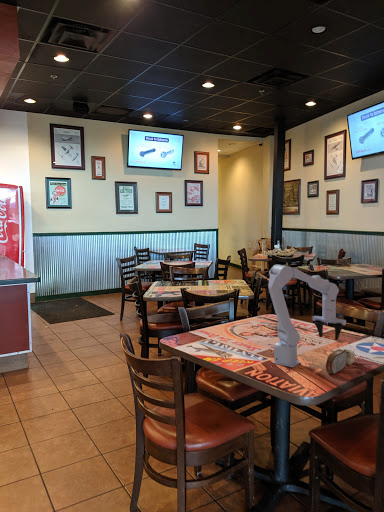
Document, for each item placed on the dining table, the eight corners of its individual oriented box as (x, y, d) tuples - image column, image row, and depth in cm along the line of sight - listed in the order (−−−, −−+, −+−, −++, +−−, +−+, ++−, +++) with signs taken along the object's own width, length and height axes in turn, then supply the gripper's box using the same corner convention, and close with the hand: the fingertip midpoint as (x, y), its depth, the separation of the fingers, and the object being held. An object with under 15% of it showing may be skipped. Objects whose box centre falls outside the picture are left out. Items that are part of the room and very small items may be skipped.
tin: (341, 365, 169) (341, 346, 168) (348, 367, 166) (348, 348, 166) (324, 375, 158) (325, 355, 158) (332, 377, 156) (332, 356, 155)
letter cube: (338, 362, 172) (338, 351, 172) (342, 359, 176) (342, 348, 176) (350, 365, 169) (350, 353, 169) (354, 361, 173) (354, 350, 172)
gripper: (348, 309, 174) (348, 338, 175) (317, 305, 184) (316, 333, 185) (342, 312, 169) (342, 342, 170) (310, 308, 178) (310, 337, 179)
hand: (328, 338), depth 177 cm, fingers open, 7 cm apart
